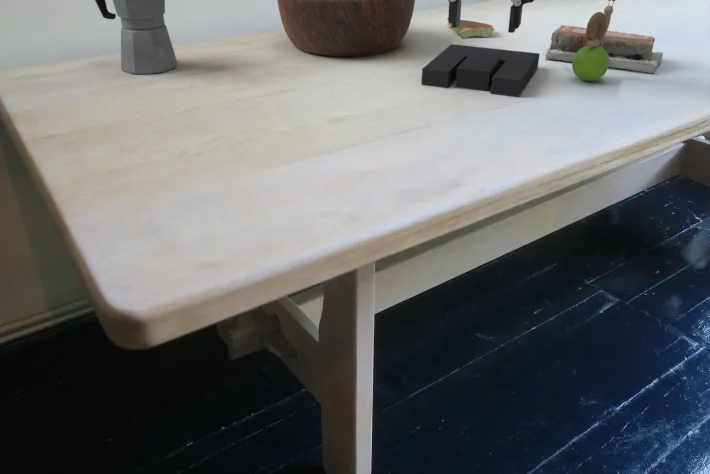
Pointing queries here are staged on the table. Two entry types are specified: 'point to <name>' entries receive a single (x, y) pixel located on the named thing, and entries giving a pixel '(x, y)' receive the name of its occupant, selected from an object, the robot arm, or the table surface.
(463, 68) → the pad piece
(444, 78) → the base pad
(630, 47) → the weathered brick
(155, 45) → the coffeepot
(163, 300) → the table surface
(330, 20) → the wooden bowl
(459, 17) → the robot arm
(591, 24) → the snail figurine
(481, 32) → the pie slice
